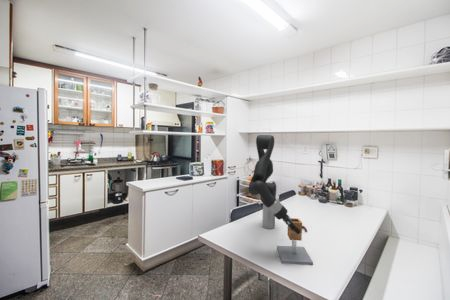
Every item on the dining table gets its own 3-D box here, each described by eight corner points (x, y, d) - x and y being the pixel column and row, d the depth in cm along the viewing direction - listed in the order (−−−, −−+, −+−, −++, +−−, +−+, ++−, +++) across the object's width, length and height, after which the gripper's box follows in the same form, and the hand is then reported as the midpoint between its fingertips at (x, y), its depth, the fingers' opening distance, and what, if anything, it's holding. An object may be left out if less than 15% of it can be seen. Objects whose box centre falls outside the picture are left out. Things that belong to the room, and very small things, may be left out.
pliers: (301, 222, 171) (301, 218, 171) (307, 233, 151) (307, 229, 151) (286, 221, 173) (286, 218, 173) (291, 232, 153) (291, 228, 153)
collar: (287, 234, 123) (288, 218, 123) (298, 235, 123) (299, 218, 122) (289, 240, 117) (290, 222, 117) (301, 240, 117) (302, 222, 116)
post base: (276, 247, 129) (277, 234, 129) (303, 249, 128) (304, 235, 128) (282, 263, 113) (282, 247, 113) (312, 265, 112) (313, 249, 112)
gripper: (284, 208, 112) (306, 231, 112) (279, 200, 127) (299, 221, 127) (274, 218, 113) (296, 240, 113) (270, 209, 127) (289, 229, 127)
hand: (297, 230), depth 120 cm, fingers closed on collar, 6 cm apart
